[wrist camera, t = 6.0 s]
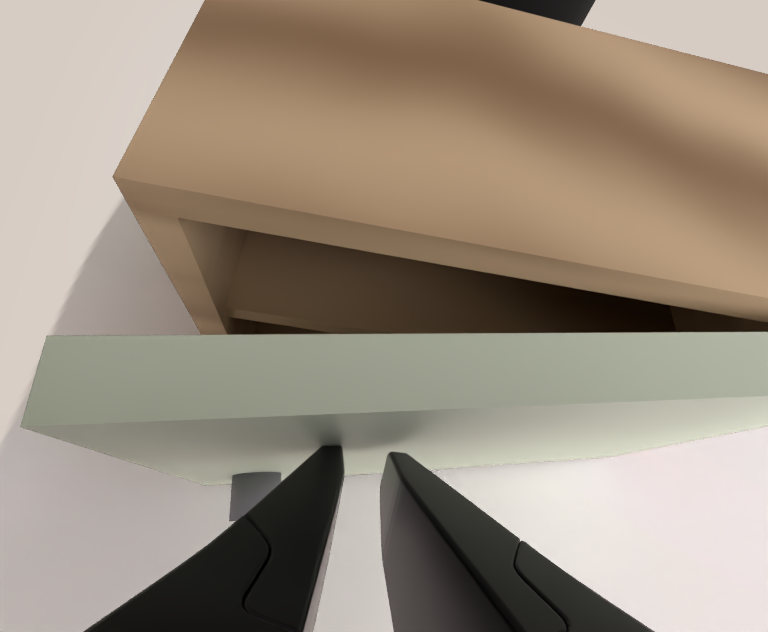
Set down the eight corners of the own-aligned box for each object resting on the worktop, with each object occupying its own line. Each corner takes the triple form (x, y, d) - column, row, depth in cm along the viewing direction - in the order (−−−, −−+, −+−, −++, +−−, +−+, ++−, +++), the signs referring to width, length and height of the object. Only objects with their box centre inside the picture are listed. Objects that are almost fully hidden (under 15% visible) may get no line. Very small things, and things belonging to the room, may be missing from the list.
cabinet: (598, 429, 18) (937, 329, 8) (226, 378, 16) (112, 176, 7) (576, 276, 22) (797, 81, 12) (269, 220, 20) (237, -62, 10)
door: (627, 487, 17) (1027, 450, 8) (201, 523, 14) (-12, 538, 5) (609, 427, 18) (942, 330, 9) (208, 449, 15) (47, 336, 6)
